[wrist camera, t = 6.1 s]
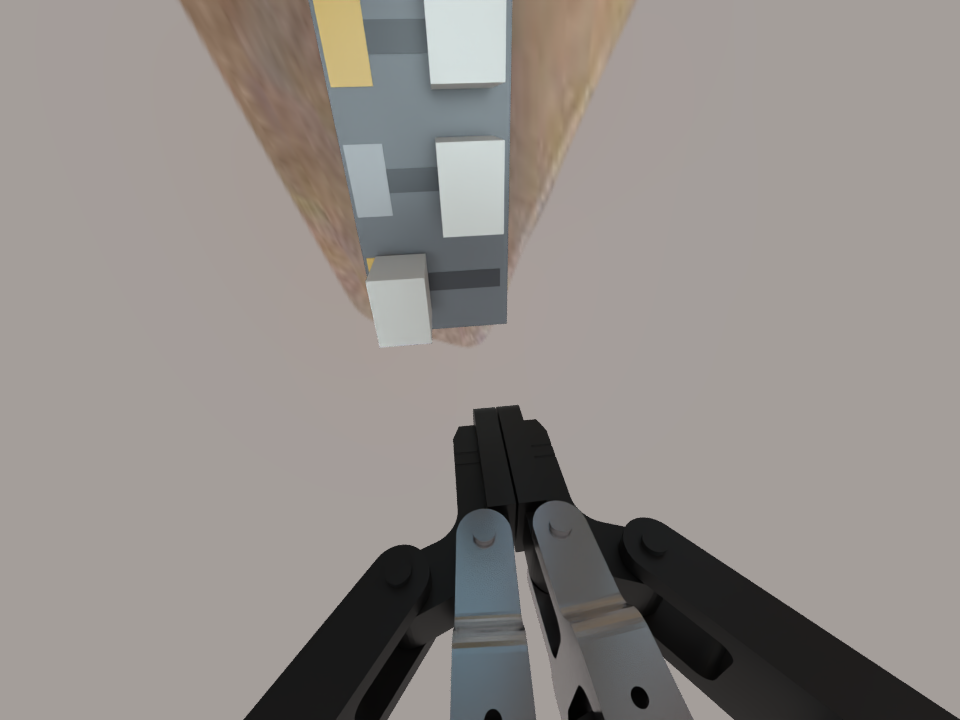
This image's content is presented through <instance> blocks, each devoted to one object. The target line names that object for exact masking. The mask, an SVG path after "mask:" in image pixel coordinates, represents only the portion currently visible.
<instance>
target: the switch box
mask: <svg viewBox="0 0 960 720" xmlns="http://www.w3.org/2000/svg"><path fill="white" fill-rule="evenodd" d="M308 1H309V5H310V10H311V15H312V20H313V24H314V29H315V34H316V38H317V43H318V48H319V53H320V57H321V62H322V67H323V71H324V76H325V81H326V86H327V90H328V95H329V100H330V104H331V109H332V114H333V119H334V123H335V128H336V133H337V137H338V142H339V147H340V152H341V156H342V161H343V166H344V170H345V175H346V180H347V185H348V189H349V194H350V199H351V203H352V208H353V213H354V218H355V222H356V227H357V232H358V236H359V241H360V246H361V250H362V255H363V260H364V265H365V269H366V274H367V277H368V274H369V272H370V269H371V267H372V264H373V262H374V259H375V257H376V256H392V255H408V254H426V263H427V272H428V281H429V289H430V298H431V307H432V329H440V328H453V327H467V326H480V325H493V324H506V323H507V271H508V214H509V156H510V99H511V41H512V0H506V81H505V83H502V84H500V85H498V86H495V87H493V88H468V89H431V82H430V70H429V57H428V45H427V33H426V21H425V9H424V0H308ZM491 135H493V136H495V137H498V138H501V139H503V140H505V173H504V234H497V235H480V236H462V237H445V238H443V227H442V216H441V203H440V191H439V179H438V167H437V155H436V143H435V138H437V137H464V136H491Z"/></svg>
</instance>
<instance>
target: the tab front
mask: <svg viewBox="0 0 960 720" xmlns="http://www.w3.org/2000/svg"><path fill="white" fill-rule="evenodd" d="M424 9H425V21H426V33H427V45H428V57H429V70H430V82H431V89H468V88H493V87H495V86H498V85H500V84H502V83H505V81H506V0H424Z"/></svg>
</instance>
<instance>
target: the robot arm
mask: <svg viewBox="0 0 960 720" xmlns="http://www.w3.org/2000/svg"><path fill="white" fill-rule="evenodd" d="M473 420H474V425H471V426H462V427H458V430H457V432H456V434H455V436H454V439H453V443H454V459H455V473H456V490H457V505H458V515H457V520H456V523H455V525H454V527H453V528H452V530H451V531H450V532H449V533H448V534H447V535H446V537H444V538H443V539H441V540H440V541H438V542H436V543H434V544H432V545H430V546H427V547H425V548H423V549H421V550H419V549H418V548H416V547H414V546H411V545H398V546H394V547H392V548H390V549H388V550H386V551H385V552H384V553H382V554H381V555H380V556H379V557H378V558H377V559H376V561H375V562H374V563H373V564H372V565H371V567H370V568H369V569H368V570H367V571H366V573H365V574H364V575H363V576H362V578H361V579H360V580H359V581H358V582H357V583H356V585H355V586H354V587H353V588H352V590H351V591H350V592H349V593H348V594H347V596H346V597H345V598H344V599H343V600H342V602H341V603H340V604H339V605H338V606H337V608H336V609H335V610H334V611H333V613H332V614H331V615H330V616H329V617H328V619H327V620H326V621H325V622H324V624H322V626H321V627H320V628H319V629H318V631H317V632H316V633H315V634H314V635H313V637H312V638H311V639H310V640H309V641H308V643H307V644H306V645H305V646H304V647H303V649H302V650H301V651H300V652H299V653H298V655H297V656H296V657H295V658H294V659H293V661H292V662H291V663H290V664H289V665H288V667H287V668H286V669H285V670H284V672H283V673H282V674H281V675H280V676H279V678H278V679H277V680H276V681H275V683H274V684H273V685H272V686H271V687H270V688H269V690H268V691H267V692H266V693H265V695H264V696H263V697H262V698H261V699H260V701H259V702H258V703H257V704H256V705H255V706H254V708H253V709H252V710H251V711H250V713H249V714H248V715H247V716H246V718H245V719H244V720H387V719H388V718H389V716H390V714H391V712H392V711H393V709H394V708H395V706H396V704H397V703H398V701H399V699H400V698H401V696H402V694H403V692H404V691H405V689H406V687H407V686H408V684H409V682H410V681H411V679H412V677H413V676H414V674H415V672H416V671H417V669H418V667H419V666H420V664H421V662H422V661H423V659H424V657H425V656H426V654H427V652H428V650H429V649H430V647H431V645H432V644H433V642H434V640H435V638H436V637H437V636H439V635H441V634H443V633H444V632H446V631H448V630H450V629H451V628H453V627H454V629H453V638H452V667H451V669H452V670H451V710H450V720H536V714H535V706H534V697H533V688H532V680H531V671H530V663H529V654H528V646H527V639H526V633H525V628H524V625H523V622H522V617H521V609H520V600H519V591H518V582H517V573H516V565H515V555H514V546H515V551H516V552H521V551H525V555H526V560H527V564H528V571H527V578H528V583H529V587H530V591H531V594H532V598H533V601H534V605H535V609H536V613H537V616H538V620H539V623H540V627H541V630H542V634H543V638H544V641H545V645H546V649H547V652H548V656H549V660H550V665H551V672H552V681H553V686H554V691H555V696H556V700H557V704H558V708H559V711H560V715H561V719H562V720H693V718H692V716H691V714H690V711H689V710H688V707H687V705H686V704H685V701H684V699H683V697H682V695H681V693H680V691H679V689H678V687H677V685H676V683H675V681H674V679H673V677H672V675H671V673H670V670H669V668H668V666H667V664H666V662H665V660H664V658H665V659H666V660H667V661H668V662H670V663H671V664H672V665H673V666H674V667H675V668H676V669H677V670H679V671H680V672H681V673H682V674H683V675H684V676H685V677H686V678H688V679H689V680H690V681H691V682H692V683H693V684H694V685H695V686H697V687H698V688H699V689H700V690H701V691H702V692H703V693H705V694H706V695H707V696H708V697H709V698H710V699H711V700H713V701H714V702H715V703H716V704H717V705H718V706H719V707H720V708H722V709H723V710H724V711H725V712H726V713H727V714H728V715H730V716H731V717H732V718H733V719H734V720H960V719H958V718H957V717H955V716H954V715H952V714H951V713H949V712H948V711H946V710H945V709H943V708H942V707H940V706H939V705H937V704H936V703H934V702H933V701H931V700H930V699H928V698H927V697H925V696H924V695H922V694H921V693H919V692H918V691H916V690H915V689H913V688H912V687H910V686H909V685H907V684H906V683H904V682H902V681H901V680H899V679H898V678H896V677H895V676H893V675H892V674H890V673H889V672H887V671H886V670H884V669H883V668H881V667H880V666H878V665H877V664H875V663H874V662H872V661H871V660H869V659H868V658H866V657H865V656H863V655H861V654H860V653H859V652H857V651H855V650H854V649H853V648H851V647H850V646H848V645H847V644H845V643H843V642H842V641H840V640H839V639H837V638H836V637H834V636H833V635H831V634H830V633H828V632H827V631H825V630H824V629H822V628H821V627H819V626H818V625H816V624H815V623H813V622H812V621H810V620H809V619H807V618H806V617H804V616H803V615H801V614H800V613H798V612H797V611H795V610H794V609H792V608H790V607H789V606H787V605H786V604H784V603H783V602H781V601H780V600H778V599H777V598H775V597H774V596H772V595H771V594H769V593H768V592H766V591H765V590H763V589H762V588H760V587H759V586H757V585H756V584H754V583H753V582H751V581H750V580H748V579H747V578H745V577H744V576H742V575H740V574H739V573H738V572H736V571H734V570H733V569H732V568H730V567H728V566H727V565H726V564H724V563H722V562H721V561H719V560H718V559H716V558H715V557H713V556H712V555H710V554H709V553H707V552H706V551H704V550H703V549H701V548H700V547H698V546H697V545H695V544H694V543H692V542H691V541H689V540H688V539H686V538H685V537H683V536H682V535H680V534H679V533H677V532H676V531H674V530H672V529H671V528H669V527H668V526H667V525H665V524H663V523H662V522H659V521H657V520H654V519H651V518H636V519H633V520H632V521H630V522H629V523H628V524H627V525H626V527H623V526H618V525H613V524H609V523H603V522H599V521H596V520H594V519H591V518H589V517H588V516H586V515H585V514H583V513H582V512H581V511H580V510H579V509H578V508H577V507H576V506H575V505H574V503H573V501H572V499H571V497H570V495H569V492H568V489H567V486H566V484H565V481H564V478H563V475H562V473H561V470H560V467H559V464H558V461H557V459H556V457H555V453H554V450H553V447H552V446H551V442H550V439H549V436H548V434H547V431H546V430H545V428H544V427H543V426H542V425H541V424H540V423H539V422H538V421H537V420H536V419H534V420H523V417H522V414H521V411H520V408H519V405H513V406H502V407H496V408H495V407H492V408H481V409H473ZM663 657H664V658H663Z"/></svg>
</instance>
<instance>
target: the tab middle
mask: <svg viewBox="0 0 960 720" xmlns="http://www.w3.org/2000/svg"><path fill="white" fill-rule="evenodd" d="M435 143H436V155H437V167H438V179H439V191H440V203H441V216H442V227H443V238H445V237H462V236H480V235H497V234H504V173H505V140H503V139H501V138H498V137H495V136H493V135H491V136H464V137H437V138H435Z"/></svg>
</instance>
